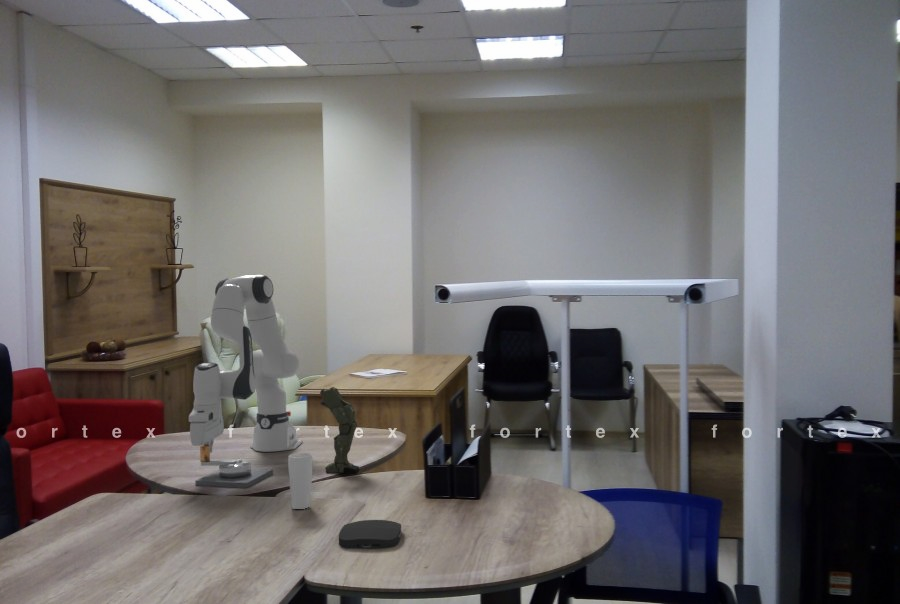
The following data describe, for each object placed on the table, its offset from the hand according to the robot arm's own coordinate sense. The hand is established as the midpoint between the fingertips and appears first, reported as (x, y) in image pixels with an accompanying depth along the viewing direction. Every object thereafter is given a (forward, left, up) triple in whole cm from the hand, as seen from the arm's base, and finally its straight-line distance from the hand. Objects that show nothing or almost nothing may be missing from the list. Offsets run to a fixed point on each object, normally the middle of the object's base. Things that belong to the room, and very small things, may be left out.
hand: (208, 453), depth 243 cm
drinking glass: (+27, +45, -8) cm, 54 cm away
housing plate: (+1, +10, -8) cm, 13 cm away
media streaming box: (+48, +73, -9) cm, 88 cm away
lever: (+2, +7, -6) cm, 10 cm away
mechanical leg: (-16, +40, -8) cm, 44 cm away
